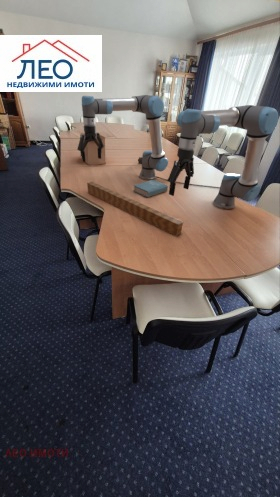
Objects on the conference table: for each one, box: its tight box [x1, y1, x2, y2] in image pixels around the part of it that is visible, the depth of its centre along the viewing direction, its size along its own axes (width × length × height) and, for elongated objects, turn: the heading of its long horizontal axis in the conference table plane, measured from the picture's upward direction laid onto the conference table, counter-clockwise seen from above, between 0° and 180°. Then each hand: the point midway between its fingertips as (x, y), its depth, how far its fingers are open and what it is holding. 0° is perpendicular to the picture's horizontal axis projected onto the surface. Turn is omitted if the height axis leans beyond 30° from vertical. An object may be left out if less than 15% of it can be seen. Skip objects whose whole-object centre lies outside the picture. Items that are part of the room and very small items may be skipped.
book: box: [133, 179, 169, 198], centre depth 177 cm, size 23×16×5 cm
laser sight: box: [137, 156, 143, 165], centre depth 237 cm, size 10×22×10 cm, turn 78°
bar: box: [86, 181, 184, 237], centre depth 147 cm, size 83×4×8 cm, turn 48°
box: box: [70, 130, 114, 166], centre depth 229 cm, size 44×36×27 cm
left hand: (91, 159), depth 153 cm, fingers open, 13 cm apart
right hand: (178, 191), depth 116 cm, fingers open, 13 cm apart
